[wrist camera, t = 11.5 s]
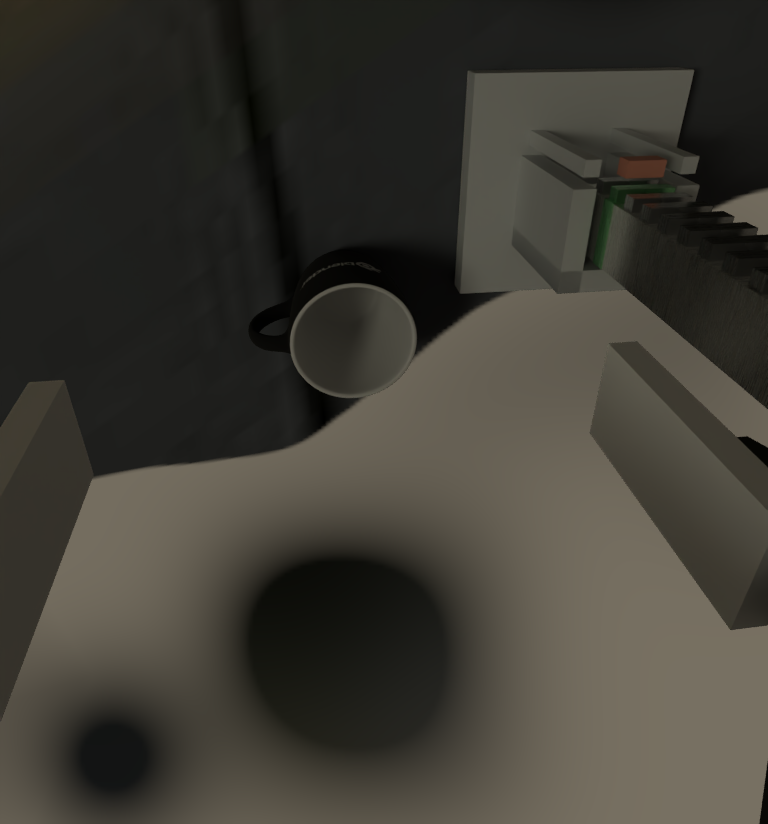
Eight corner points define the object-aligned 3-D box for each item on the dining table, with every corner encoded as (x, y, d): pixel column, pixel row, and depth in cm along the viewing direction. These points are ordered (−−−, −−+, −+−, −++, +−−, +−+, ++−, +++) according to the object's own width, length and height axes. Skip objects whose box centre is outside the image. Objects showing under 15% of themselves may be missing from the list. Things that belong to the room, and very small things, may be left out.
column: (582, 171, 42) (816, 307, 24) (641, 169, 43) (914, 301, 25) (570, 244, 45) (773, 416, 27) (626, 241, 45) (863, 409, 27)
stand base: (467, 70, 46) (524, 93, 35) (679, 67, 48) (793, 88, 37) (454, 284, 54) (497, 354, 44) (634, 274, 56) (716, 339, 46)
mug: (389, 226, 51) (411, 272, 43) (400, 327, 56) (423, 387, 48) (237, 251, 50) (230, 303, 42) (263, 351, 55) (261, 416, 47)
